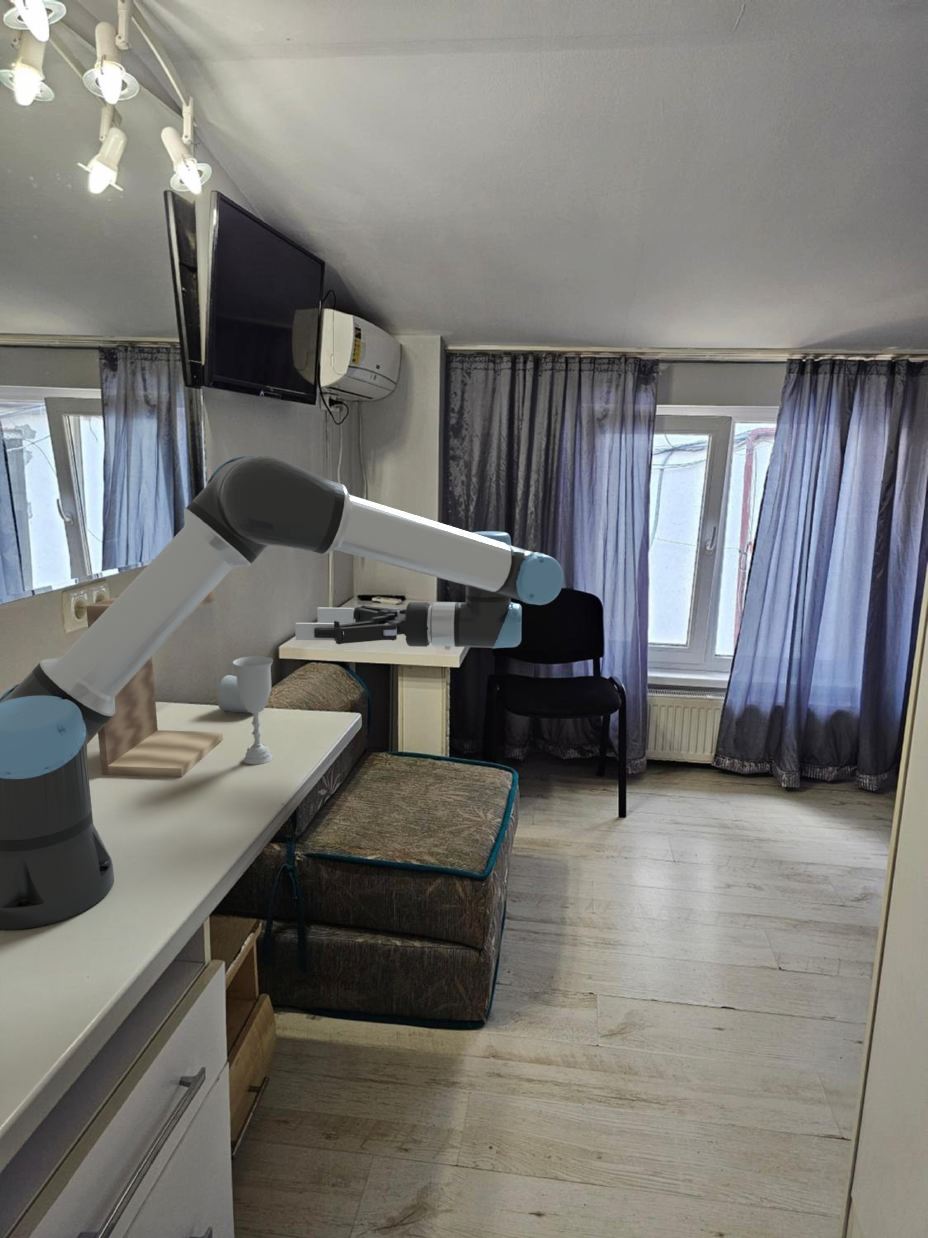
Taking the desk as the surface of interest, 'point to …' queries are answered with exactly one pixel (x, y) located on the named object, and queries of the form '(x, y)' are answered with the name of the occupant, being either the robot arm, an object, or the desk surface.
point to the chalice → (254, 699)
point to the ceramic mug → (230, 695)
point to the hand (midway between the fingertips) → (307, 622)
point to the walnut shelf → (146, 726)
